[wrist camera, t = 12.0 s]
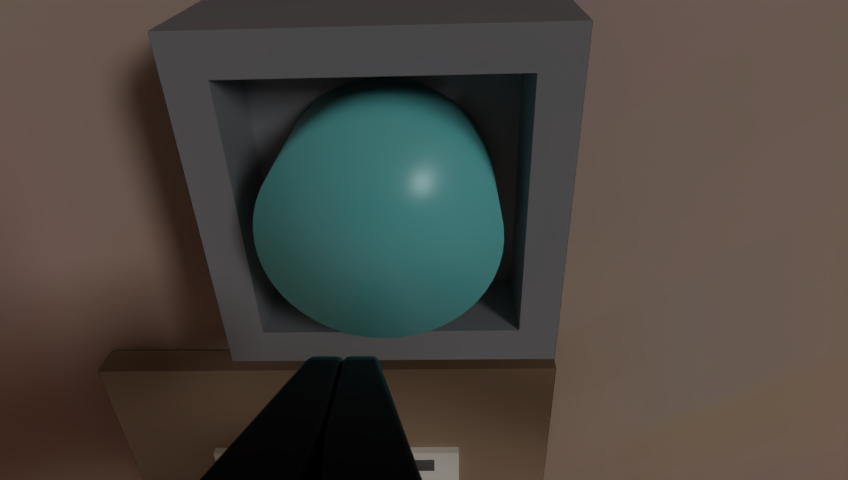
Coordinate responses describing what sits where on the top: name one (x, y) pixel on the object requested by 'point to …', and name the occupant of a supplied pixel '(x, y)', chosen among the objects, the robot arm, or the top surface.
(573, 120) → the button housing
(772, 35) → the top surface
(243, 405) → the drawing board
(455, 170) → the button
